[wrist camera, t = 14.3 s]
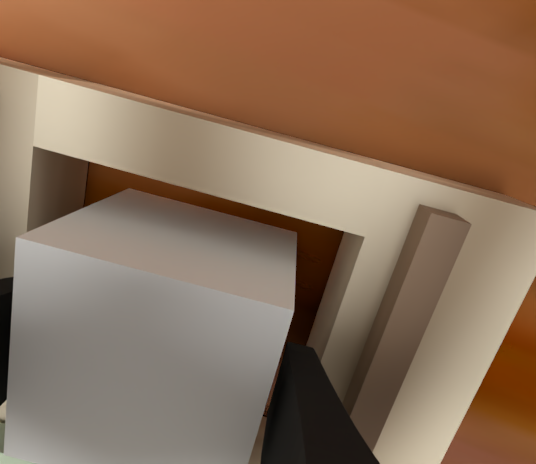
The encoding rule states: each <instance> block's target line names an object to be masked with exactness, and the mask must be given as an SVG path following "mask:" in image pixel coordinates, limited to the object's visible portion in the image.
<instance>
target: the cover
mask: <svg viewBox="0 0 536 464" xmlns="http://www.w3.org/2000/svg"><path fill="white" fill-rule="evenodd" d="M4 438H5V424H4V423H0V464H36V463H32V462H28V461H25V460H21V459H17V458H13V457H10V456H6V455H4Z"/></svg>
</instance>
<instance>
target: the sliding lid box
mask: <svg viewBox="0 0 536 464" xmlns="http://www.w3.org/2000/svg"><path fill="white" fill-rule="evenodd" d="M89 161H90V162H93V163H97V164H101V165H104V166H108V167H111V168H115V169H119V170H122V171H126V172H130V173H133V174H137V175H141V176H144V177H148V178H152V179H155V180H159V181H162V182H166V183H170V184H173V185H177V186H181V187H184V188H188V189H192V190H195V191H199V192H203V193H206V194H210V195H214V196H217V197H221V198H224V199H228V200H232V201H235V202H239V203H243V204H246V205H250V206H254V207H257V208H261V209H265V210H268V211H272V212H275V213H279V214H283V215H286V216H290V217H294V218H297V219H301V220H305V221H308V222H312V223H316V224H319V225H323V226H327V227H330V228H334V229H337V230H341V231H344V234H343V237H342V240H341V243H340V246H339V249H338V252H337V255H336V258H335V261H334V264H333V267H332V270H331V273H330V276H329V279H328V282H327V285H326V288H325V291H324V294H323V297H322V299H321V302H320V305H319V308H318V311H317V314H316V317H315V320H314V323H313V326H312V329H311V332H310V335H309V338H308V341H307V344H306V346H308V347H312V348H314V350H315V352H316V353H317V355H318V357H319V359H320V362H321V364H322V366H323V368H324V370H325V372H326V374H327V376H328V378H329V380H330V382H331V383H332V385H333V387H334V389H335V391H336V393H337V395H338V397H339V398H340V400H341V402H342V404H343V405H344V407H345V409H346V411H347V412H348V414H349V416H350V418H351V419H352V421H353V423H354V425H355V426H356V428H357V429H358V431H359V433H360V434H361V436H362V437H363V439H364V440H365V442H366V444H367V445H368V447H369V448H370V450H371V451H372V453H373V454H374V456H375V457H376V459H377V460H378V461H379V463H380V464H440V463H441V461H442V459H443V457H444V455H445V453H446V451H447V449H448V447H449V445H450V443H451V441H452V439H453V437H454V435H455V433H456V431H457V429H458V428H459V426H460V424H461V422H462V420H463V418H464V416H465V414H466V412H467V410H468V408H469V406H470V404H471V402H472V400H473V398H474V396H475V394H476V392H477V390H478V388H479V386H480V384H481V382H482V380H483V378H484V376H485V374H486V372H487V370H488V368H489V366H490V364H491V363H492V361H493V359H494V357H495V355H496V353H497V351H498V349H499V347H500V345H501V343H502V341H503V339H504V337H505V335H506V333H507V331H508V329H509V327H510V325H511V323H512V321H513V319H514V317H515V315H516V313H517V311H518V309H519V307H520V305H521V303H522V301H523V299H524V298H525V296H526V294H527V292H528V290H529V288H530V286H531V284H532V282H533V280H534V278H535V276H536V207H535V206H532V205H530V204H527V203H525V202H522V201H520V200H517V199H515V198H512V197H510V196H507V195H504V194H500V193H497V192H493V191H490V190H486V189H482V188H479V187H475V186H471V185H468V184H464V183H460V182H457V181H453V180H449V179H446V178H442V177H438V176H435V175H431V174H427V173H424V172H420V171H416V170H413V169H409V168H405V167H402V166H398V165H394V164H391V163H387V162H383V161H380V160H376V159H372V158H369V157H365V156H361V155H358V154H354V153H350V152H347V151H343V150H339V149H336V148H332V147H328V146H325V145H321V144H317V143H314V142H310V141H306V140H303V139H299V138H295V137H292V136H288V135H284V134H281V133H277V132H274V131H270V130H266V129H263V128H259V127H255V126H252V125H248V124H244V123H241V122H237V121H233V120H230V119H226V118H222V117H219V116H215V115H211V114H208V113H204V112H200V111H197V110H193V109H189V108H186V107H182V106H178V105H175V104H171V103H167V102H164V101H160V100H156V99H153V98H149V97H145V96H142V95H138V94H134V93H131V92H127V91H123V90H120V89H116V88H112V87H109V86H105V85H101V84H98V83H94V82H90V81H87V80H83V79H79V78H76V77H72V76H68V75H65V74H61V73H57V72H54V71H50V70H47V69H43V68H39V67H36V66H32V65H28V64H25V63H21V62H17V61H14V60H10V59H6V58H3V57H0V279H3V278H8V277H14V261H15V243H16V237H17V236H20V235H22V234H24V233H26V232H29V231H31V230H33V229H36V228H38V227H40V226H43V225H45V224H47V223H50V222H52V221H54V220H57V219H59V218H61V217H64V216H66V215H68V214H70V213H73V212H75V211H77V210H80V209H82V208H83V205H84V197H85V189H86V180H87V172H88V164H89ZM6 402H7V400H6V401H5V402H4V403H3V404H2V405H1V406H0V423H4V424H5V420H6ZM266 420H267V417H264V416H262V419H261V423H260V426H259V429H258V433H257V436H256V439H255V443H254V446H253V449H252V452H251V456H250V459H249V462H248V464H261V452H262V445H263V439H264V432H265V426H266Z"/></svg>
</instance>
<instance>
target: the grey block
mask: <svg viewBox="0 0 536 464" xmlns="http://www.w3.org/2000/svg"><path fill="white" fill-rule="evenodd" d="M296 252H297V232H294V231H290V230H286V229H282V228H278V227H275V226H271V225H267V224H263V223H259V222H256V221H252V220H248V219H244V218H241V217H237V216H233V215H229V214H225V213H222V212H218V211H214V210H210V209H206V208H203V207H199V206H195V205H191V204H187V203H184V202H180V201H176V200H172V199H169V198H165V197H161V196H157V195H153V194H150V193H146V192H142V191H138V190H134V189H131V188H128V189H126V190H124V191H121V192H119V193H117V194H114V195H112V196H110V197H107V198H105V199H103V200H101V201H98V202H96V203H94V204H91V205H89V206H87V207H84V208H82V209H80V210H77V211H75V212H73V213H70V214H68V215H66V216H64V217H61V218H59V219H57V220H54V221H52V222H50V223H47V224H45V225H43V226H40V227H38V228H36V229H33V230H31V231H29V232H26V233H24V234H22V235H20V236H17V237H16V243H15V261H14V279H13V296H12V314H11V332H10V349H9V367H8V385H7V402H6V420H5V438H4V455H6V456H10V457H13V458H17V459H21V460H25V461H28V462H32V463H36V464H248V462H249V459H250V456H251V452H252V449H253V446H254V443H255V439H256V436H257V433H258V429H259V426H260V423H261V419H262V416H263V413H264V409H265V406H266V403H267V399H268V396H269V393H270V390H271V386H272V383H273V380H274V376H275V373H276V370H277V366H278V363H279V360H280V356H281V353H282V350H283V346H284V343H285V340H286V337H287V333H288V330H289V327H290V323H291V320H292V317H293V313H294V305H295V278H296Z"/></svg>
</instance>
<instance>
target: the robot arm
mask: <svg viewBox="0 0 536 464" xmlns="http://www.w3.org/2000/svg"><path fill="white" fill-rule="evenodd" d="M13 279H14V277H8V278H3V279H0V406H1V405H2V404H3V403H4V402H5V401H6V400H7V385H8V367H9V349H10V332H11V314H12V296H13ZM261 464H380V463H379V461H378V460H377V459H376V457H375V456H374V454H373V453H372V451H371V450H370V448H369V447H368V445H367V444H366V442H365V440H364V439H363V437H362V436H361V434H360V433H359V431H358V429H357V428H356V426H355V425H354V423H353V421H352V419H351V418H350V416H349V414H348V412H347V411H346V409H345V407H344V405H343V404H342V402H341V400H340V398H339V397H338V395H337V393H336V391H335V389H334V387H333V385H332V383H331V382H330V380H329V378H328V376H327V374H326V372H325V370H324V368H323V366H322V364H321V362H320V359H319V357H318V355H317V353H316V352H315V350H314V348H312V347H308V346H304V345H300V344H296V343H292V342H287V345H286V349H285V352H284V356H283V359H282V363H281V367H280V370H279V374H278V377H277V381H276V384H275V388H274V391H273V395H272V399H271V402H270V406H269V409H268V413H267V420H266V426H265V432H264V439H263V445H262V452H261Z"/></svg>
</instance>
